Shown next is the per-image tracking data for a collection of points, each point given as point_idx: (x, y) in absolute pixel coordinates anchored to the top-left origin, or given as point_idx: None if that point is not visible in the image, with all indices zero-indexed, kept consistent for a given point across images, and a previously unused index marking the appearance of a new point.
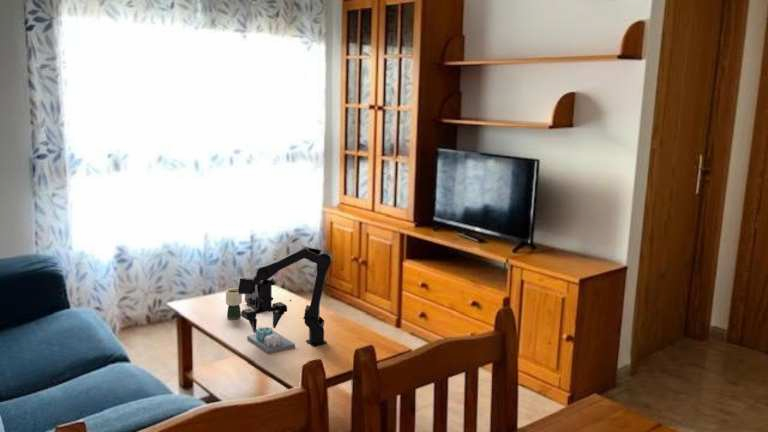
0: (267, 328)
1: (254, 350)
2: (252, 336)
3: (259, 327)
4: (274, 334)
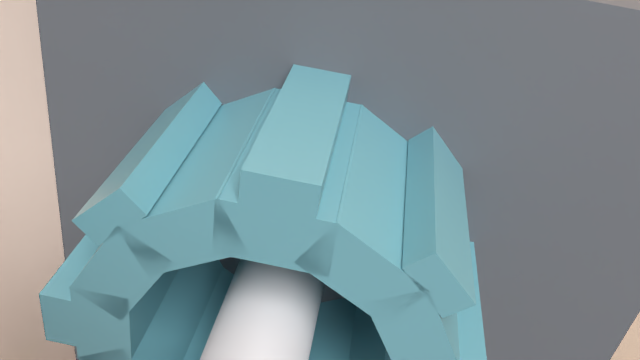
0: (392, 344)
1: (2, 314)
2: (118, 19)
3: (242, 177)
4: (559, 263)
